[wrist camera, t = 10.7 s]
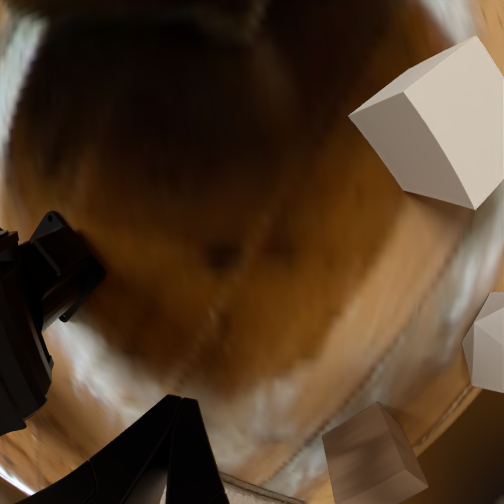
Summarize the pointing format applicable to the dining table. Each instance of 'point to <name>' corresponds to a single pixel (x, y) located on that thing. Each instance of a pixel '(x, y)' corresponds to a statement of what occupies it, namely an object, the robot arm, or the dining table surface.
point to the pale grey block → (441, 126)
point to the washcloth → (247, 493)
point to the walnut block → (372, 460)
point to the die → (487, 345)
